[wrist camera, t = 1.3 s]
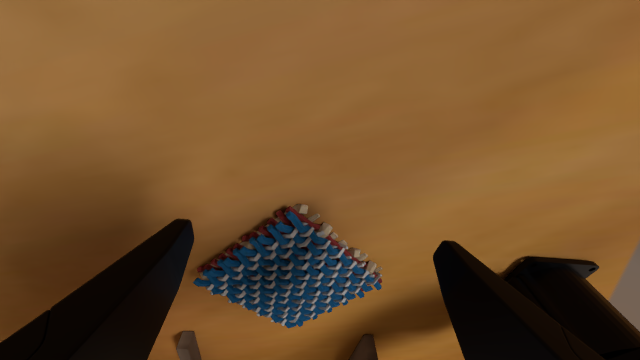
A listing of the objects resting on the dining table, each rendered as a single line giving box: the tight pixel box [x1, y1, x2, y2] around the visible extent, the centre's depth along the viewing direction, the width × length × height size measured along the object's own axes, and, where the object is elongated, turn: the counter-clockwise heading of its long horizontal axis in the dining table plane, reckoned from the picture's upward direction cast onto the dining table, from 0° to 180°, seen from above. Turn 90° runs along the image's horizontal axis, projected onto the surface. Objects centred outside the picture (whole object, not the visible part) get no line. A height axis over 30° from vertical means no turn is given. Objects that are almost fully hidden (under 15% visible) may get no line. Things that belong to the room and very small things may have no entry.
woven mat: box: [193, 204, 383, 328], centre depth 18 cm, size 10×11×2 cm
